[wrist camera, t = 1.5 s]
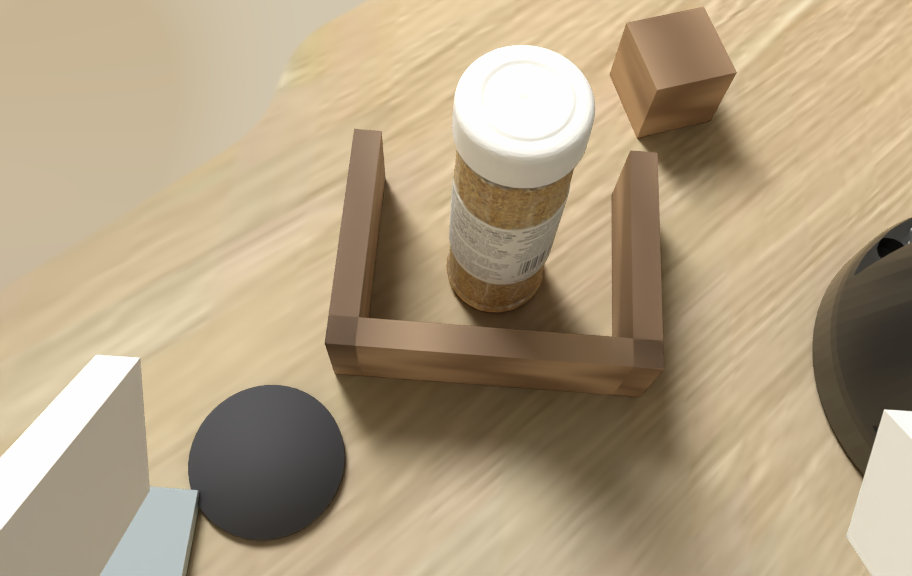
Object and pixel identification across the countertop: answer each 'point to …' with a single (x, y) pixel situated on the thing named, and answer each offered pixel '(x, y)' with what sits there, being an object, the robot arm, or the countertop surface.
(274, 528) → the dark grey round disc
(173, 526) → the coaster
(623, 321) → the cubby
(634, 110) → the walnut cube
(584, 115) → the spice jar
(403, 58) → the countertop surface
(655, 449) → the countertop surface
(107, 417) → the robot arm
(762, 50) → the countertop surface
